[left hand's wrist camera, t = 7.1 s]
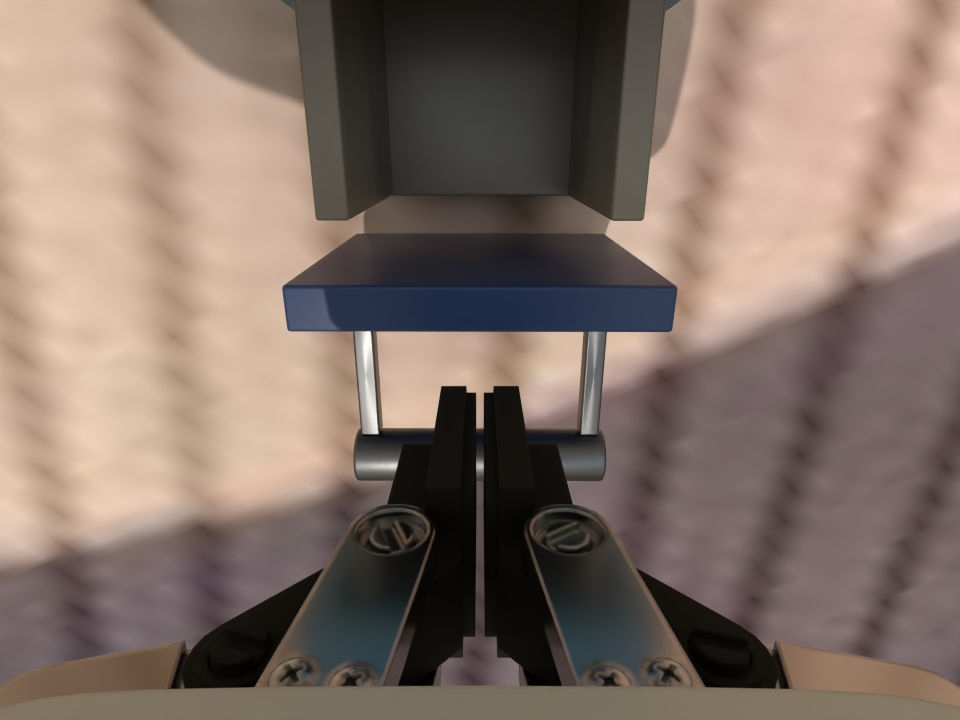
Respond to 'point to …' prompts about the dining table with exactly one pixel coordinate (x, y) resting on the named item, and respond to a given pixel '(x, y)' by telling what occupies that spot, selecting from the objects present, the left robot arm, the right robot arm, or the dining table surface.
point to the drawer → (480, 183)
